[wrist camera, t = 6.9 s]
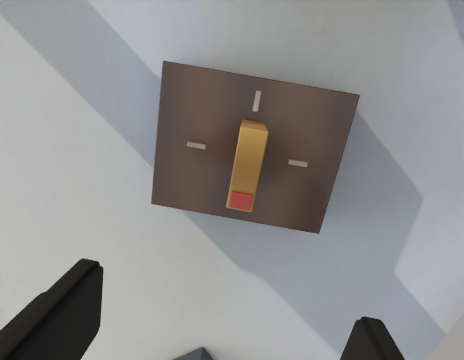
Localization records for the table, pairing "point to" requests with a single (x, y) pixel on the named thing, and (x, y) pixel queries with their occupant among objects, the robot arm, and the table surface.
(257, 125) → the thumbturn
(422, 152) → the table surface
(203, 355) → the box
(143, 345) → the table surface
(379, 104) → the table surface
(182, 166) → the plate
